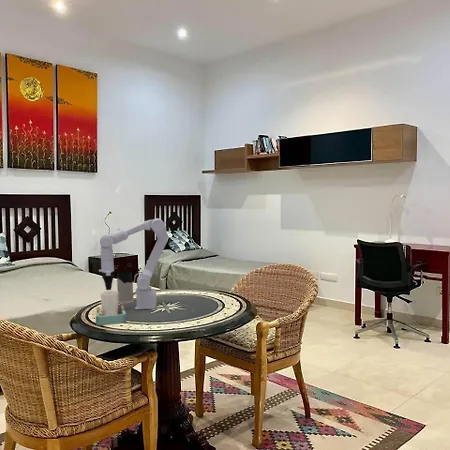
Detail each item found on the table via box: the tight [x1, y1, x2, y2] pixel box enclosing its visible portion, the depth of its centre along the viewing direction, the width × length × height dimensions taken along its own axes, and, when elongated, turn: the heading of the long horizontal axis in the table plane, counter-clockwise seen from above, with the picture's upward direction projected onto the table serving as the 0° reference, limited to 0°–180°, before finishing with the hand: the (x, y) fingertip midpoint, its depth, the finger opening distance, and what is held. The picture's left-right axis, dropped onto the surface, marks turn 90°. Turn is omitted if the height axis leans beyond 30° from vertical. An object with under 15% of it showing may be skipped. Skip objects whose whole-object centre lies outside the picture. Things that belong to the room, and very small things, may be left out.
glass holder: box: [116, 271, 142, 305], centre depth 232 cm, size 9×14×15 cm, turn 127°
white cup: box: [100, 290, 119, 316], centre depth 205 cm, size 8×8×10 cm
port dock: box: [95, 309, 127, 326], centre depth 193 cm, size 12×8×4 cm, turn 105°
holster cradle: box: [96, 304, 125, 314], centre depth 206 cm, size 12×8×3 cm, turn 105°
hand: (108, 288), depth 213 cm, fingers open, 7 cm apart
